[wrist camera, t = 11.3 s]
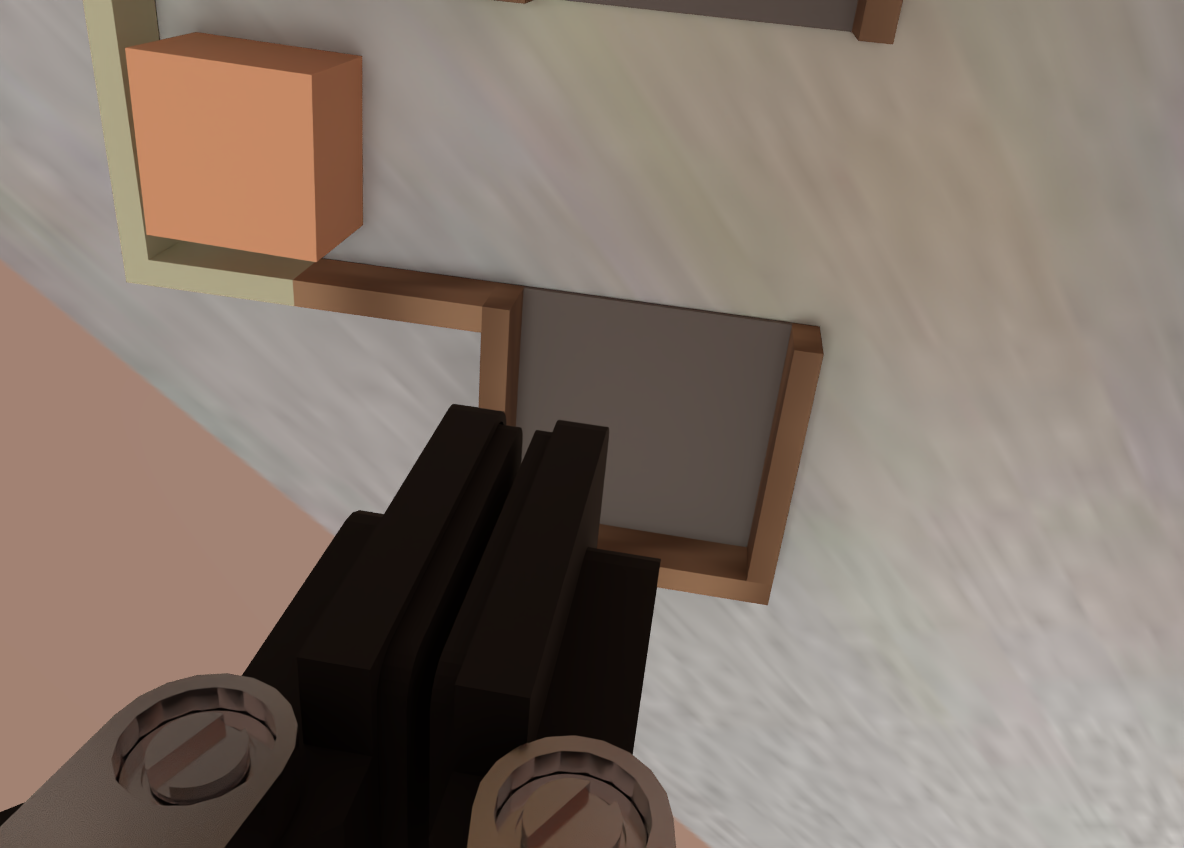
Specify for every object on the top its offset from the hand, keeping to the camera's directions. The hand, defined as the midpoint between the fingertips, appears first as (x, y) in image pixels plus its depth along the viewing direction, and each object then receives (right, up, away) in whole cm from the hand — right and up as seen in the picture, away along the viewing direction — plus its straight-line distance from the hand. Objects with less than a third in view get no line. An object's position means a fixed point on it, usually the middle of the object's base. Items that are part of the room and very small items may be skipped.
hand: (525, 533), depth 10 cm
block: (-10, +12, +24) cm, 29 cm away
